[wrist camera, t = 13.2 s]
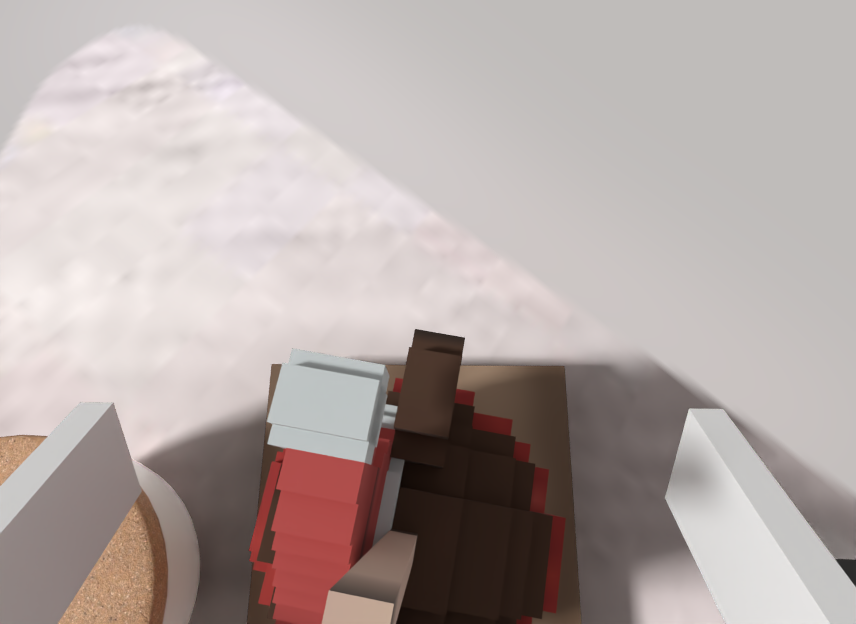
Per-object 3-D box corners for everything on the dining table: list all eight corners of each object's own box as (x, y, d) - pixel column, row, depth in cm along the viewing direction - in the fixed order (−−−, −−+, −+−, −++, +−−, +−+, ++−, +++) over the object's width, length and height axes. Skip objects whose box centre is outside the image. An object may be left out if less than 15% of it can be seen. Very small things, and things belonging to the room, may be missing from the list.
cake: (510, 695, 21) (880, 1708, 4) (269, 644, 21) (-411, 1296, 4) (544, 413, 24) (826, 224, 7) (333, 375, 24) (97, 111, 7)
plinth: (550, 378, 27) (564, 366, 24) (568, 683, 23) (587, 709, 21) (288, 376, 27) (271, 364, 25) (262, 678, 24) (238, 705, 21)
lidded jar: (-50, 576, 25) (-321, 626, 16) (139, 402, 27) (-5, 361, 18) (92, 773, 23) (-130, 960, 14) (286, 565, 25) (203, 609, 16)
